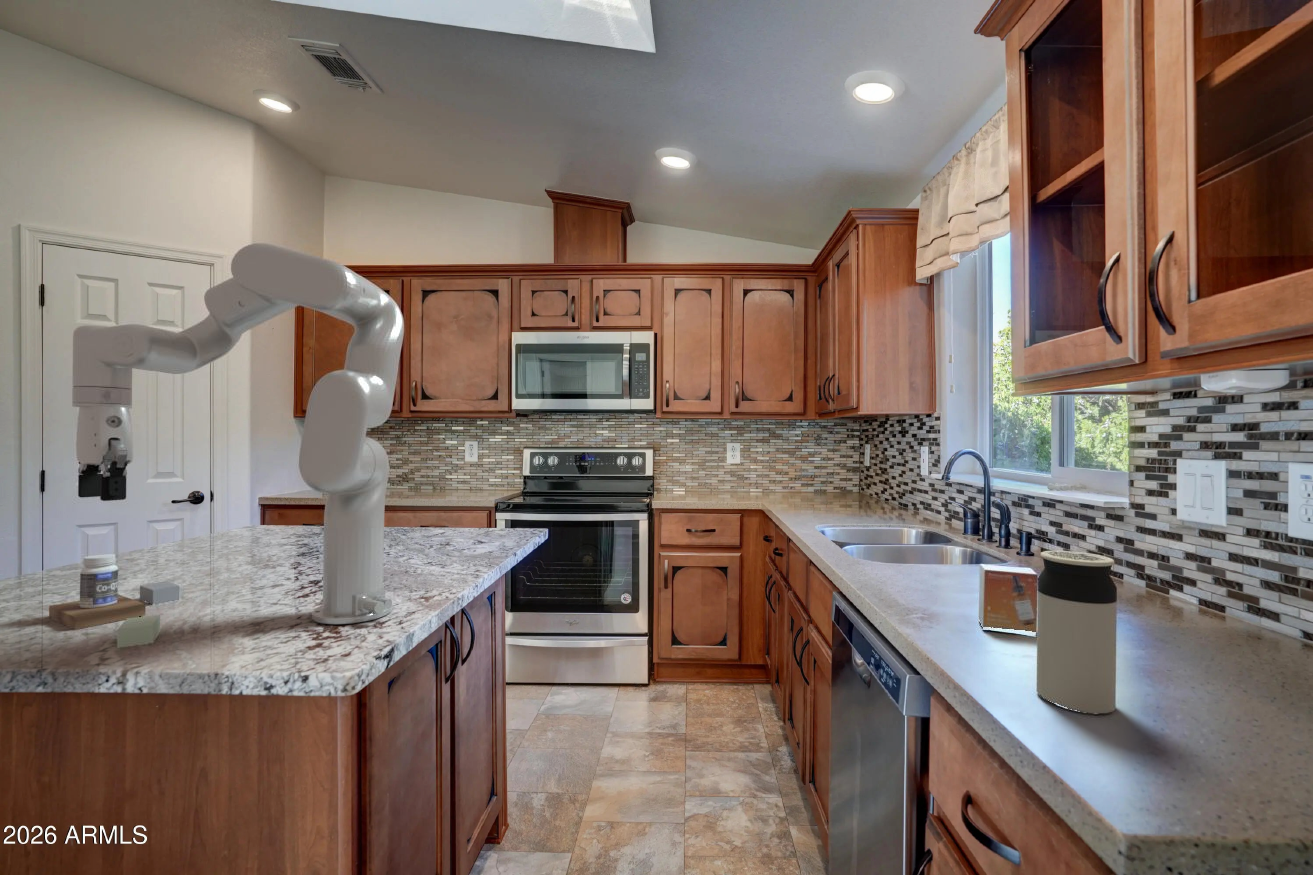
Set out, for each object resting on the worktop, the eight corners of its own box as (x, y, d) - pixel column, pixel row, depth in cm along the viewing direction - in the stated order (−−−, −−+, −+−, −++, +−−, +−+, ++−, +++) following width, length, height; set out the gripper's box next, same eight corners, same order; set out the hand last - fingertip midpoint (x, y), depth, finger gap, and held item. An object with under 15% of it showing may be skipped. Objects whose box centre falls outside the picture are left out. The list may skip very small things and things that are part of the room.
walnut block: (145, 615, 102) (145, 603, 102) (74, 629, 94) (75, 617, 94) (117, 604, 108) (117, 593, 108) (49, 617, 100) (49, 605, 100)
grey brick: (179, 601, 112) (179, 585, 112) (152, 606, 109) (153, 590, 109) (165, 596, 115) (165, 581, 115) (139, 601, 112) (139, 585, 112)
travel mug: (1089, 721, 68) (1091, 564, 68) (1022, 693, 75) (1023, 552, 75) (1130, 709, 71) (1132, 559, 71) (1062, 683, 78) (1063, 548, 78)
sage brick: (152, 644, 89) (152, 624, 89) (117, 649, 87) (117, 629, 87) (159, 633, 94) (160, 614, 94) (126, 637, 92) (126, 618, 92)
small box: (982, 631, 100) (983, 569, 100) (978, 622, 105) (978, 562, 105) (1037, 638, 97) (1038, 573, 97) (1030, 628, 102) (1031, 567, 102)
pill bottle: (99, 609, 99) (99, 559, 99) (71, 608, 99) (72, 558, 99) (125, 601, 104) (125, 553, 104) (98, 600, 104) (99, 553, 104)
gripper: (151, 399, 100) (150, 499, 100) (111, 401, 109) (110, 494, 109) (93, 396, 94) (92, 503, 94) (54, 399, 103) (53, 497, 103)
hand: (101, 498), depth 102 cm, fingers open, 9 cm apart
